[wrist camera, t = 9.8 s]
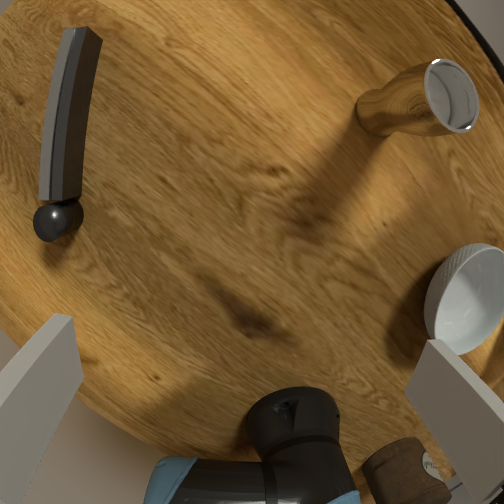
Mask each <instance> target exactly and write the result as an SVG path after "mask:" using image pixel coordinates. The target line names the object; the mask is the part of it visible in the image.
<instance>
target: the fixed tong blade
mask: <svg viewBox="0 0 504 504" xmlns="http://www.w3.org/2000/svg"><path fill="white" fill-rule="evenodd" d="M102 42H103V40H102V39H101V38H100V37H99V36H98V35H97V34H96V33H94V32H93V31H92V30H91V29H90V28H89V27H88V26H87V27H80V28H76V31H75V34H74V38H73V42H72V46H71V49H70V53H69V58H68V62H67V66H66V71H65V76H64V81H63V86H62V91H61V97H60V103H59V110H58V117H57V124H56V133H55V142H54V154H53V169H52V195H51V200H61V201H58V202H55V203H52V204H48V205H45V206H42V207H40V208H39V209H38V210H37V211H36V212H35V215H34V218H33V227H34V230H35V233H36V234H37V236H38V237H39V238H40V239H41V240H43V241H45V242H51V241H54V240H56V239H58V238H59V237H61V236H63V235H65V234H67V233H69V232H71V231H73V230H75V229H77V228H78V227H79V226H80V225H81V224H82V222H83V218H84V212H83V208H82V206H81V204H80V203H79V202H78V201H77V200H75V199H69V198H73V197H76V196H80V195H82V173H83V159H84V148H85V138H86V129H87V121H88V114H89V107H90V100H91V94H92V89H93V83H94V78H95V73H96V68H97V63H98V59H99V54H100V50H101V46H102Z"/></svg>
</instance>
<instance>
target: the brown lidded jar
mask: <svg viewBox="0 0 504 504" xmlns="http://www.w3.org/2000/svg"><path fill="white" fill-rule="evenodd" d="M363 473H364V476H365V478H366V481H367V483H368V486H369V488H370V491H371V493H372V495H373V498H374V500H375V502H376V504H447V503H448V502H449V501H450V499H451V497H452V495H451V493H450V491H449V489H448V488H447V486H446V485H445V483H444V481H443V479H442V477H441V476H440V474H439V472H438V470H437V468H436V466H435V465H434V463H433V461H432V460H431V458H430V456H429V455H428V453H427V452H426V450H425V448H424V447H423V445H422V444H421V442H420V441H419V440H418V439H417V438H405V439H402V440H399V441H396V442H394V443H392V444H389V445H388V446H386V447H384V448H382V449H381V450H379V451H378V452H376V453H375V454H374V455H373V456H372V457H370V458H369V459H368V461H367V462H366V463H365V465H364V467H363Z"/></svg>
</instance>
